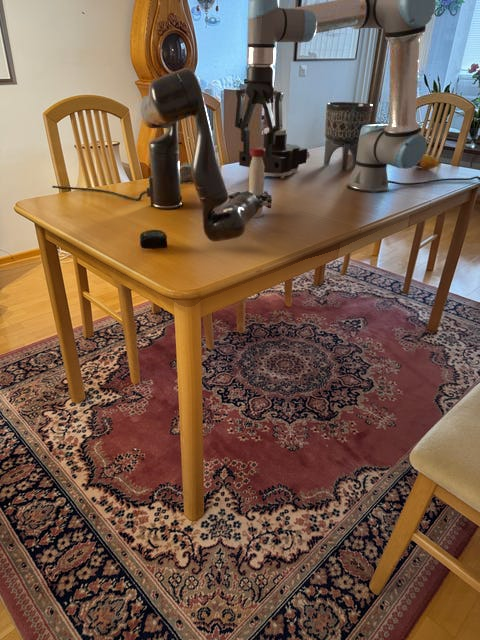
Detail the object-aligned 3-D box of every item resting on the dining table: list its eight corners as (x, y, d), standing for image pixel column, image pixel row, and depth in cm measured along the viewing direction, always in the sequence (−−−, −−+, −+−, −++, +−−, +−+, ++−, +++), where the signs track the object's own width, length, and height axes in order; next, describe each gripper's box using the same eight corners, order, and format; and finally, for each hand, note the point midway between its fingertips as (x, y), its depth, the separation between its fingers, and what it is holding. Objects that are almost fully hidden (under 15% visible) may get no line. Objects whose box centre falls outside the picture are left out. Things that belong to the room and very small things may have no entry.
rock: (198, 175, 188) (197, 159, 184) (210, 180, 182) (210, 163, 179) (170, 180, 180) (169, 163, 177) (183, 185, 175) (182, 168, 171)
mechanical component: (240, 120, 182) (283, 115, 202) (239, 174, 192) (280, 164, 212) (283, 126, 170) (325, 120, 190) (280, 183, 180) (320, 171, 200)
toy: (413, 162, 205) (407, 155, 217) (415, 176, 208) (410, 168, 220) (439, 154, 201) (432, 147, 214) (441, 168, 204) (434, 161, 217)
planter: (313, 167, 208) (319, 103, 195) (331, 160, 222) (338, 101, 209) (353, 173, 199) (362, 107, 185) (369, 166, 213) (379, 104, 199)
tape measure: (140, 252, 115) (139, 238, 113) (141, 242, 120) (140, 229, 119) (167, 251, 116) (166, 237, 114) (167, 241, 121) (166, 228, 120)
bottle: (246, 216, 143) (247, 150, 133) (250, 212, 147) (252, 148, 137) (259, 217, 142) (262, 151, 132) (263, 213, 145) (266, 149, 136)
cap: (263, 157, 133) (264, 149, 132) (249, 156, 133) (249, 149, 132) (265, 154, 137) (265, 147, 136) (250, 153, 137) (251, 146, 136)
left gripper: (267, 197, 126) (280, 183, 140) (218, 192, 129) (236, 179, 143) (266, 223, 129) (279, 207, 144) (219, 218, 133) (236, 203, 147)
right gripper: (299, 67, 123) (292, 155, 134) (234, 65, 130) (233, 149, 141) (289, 67, 117) (283, 160, 129) (222, 65, 124) (222, 153, 135)
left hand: (257, 193), depth 143 cm, fingers closed on bottle, 4 cm apart
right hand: (257, 154), depth 135 cm, fingers open, 7 cm apart
